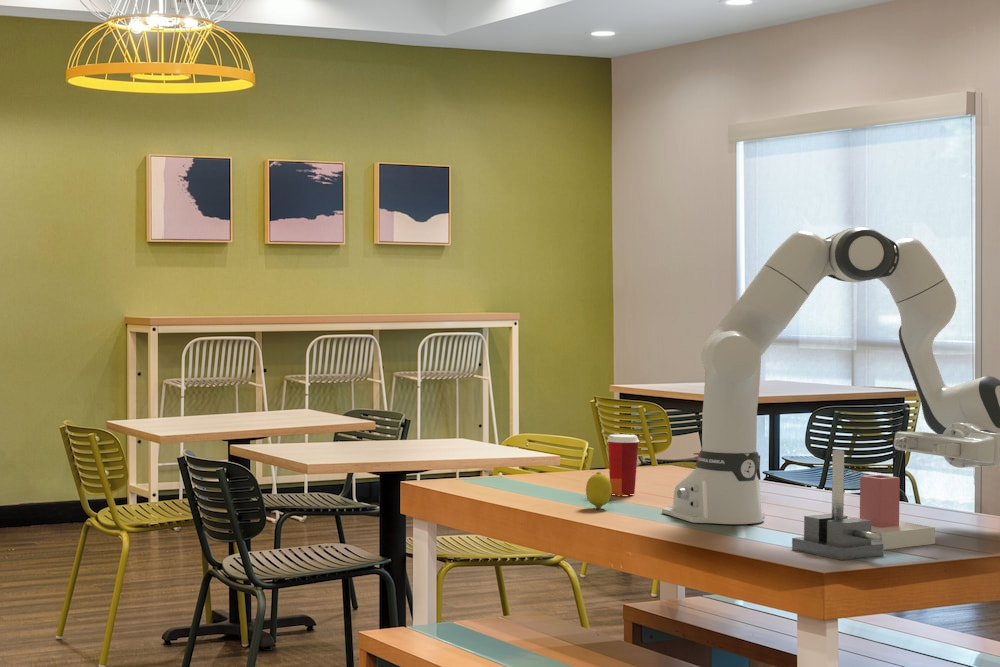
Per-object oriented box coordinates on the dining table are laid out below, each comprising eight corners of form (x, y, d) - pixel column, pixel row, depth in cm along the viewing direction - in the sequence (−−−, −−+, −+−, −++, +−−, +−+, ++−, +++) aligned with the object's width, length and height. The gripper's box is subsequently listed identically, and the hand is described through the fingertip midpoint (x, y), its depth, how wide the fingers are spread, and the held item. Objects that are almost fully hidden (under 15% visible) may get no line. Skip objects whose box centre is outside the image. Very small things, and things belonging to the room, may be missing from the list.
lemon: (601, 511, 263) (601, 474, 263) (580, 508, 267) (581, 471, 267) (616, 508, 267) (616, 472, 267) (596, 506, 271) (596, 469, 271)
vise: (792, 549, 220) (793, 448, 220) (832, 544, 226) (833, 446, 225) (858, 563, 207) (859, 457, 207) (899, 558, 212) (900, 454, 212)
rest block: (824, 537, 233) (824, 522, 233) (876, 532, 240) (876, 517, 240) (881, 549, 221) (881, 533, 221) (934, 543, 228) (935, 527, 228)
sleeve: (859, 523, 231) (860, 475, 231) (878, 521, 234) (879, 474, 234) (880, 527, 227) (880, 478, 227) (899, 525, 229) (899, 477, 229)
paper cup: (639, 493, 293) (640, 434, 293) (637, 497, 286) (638, 437, 286) (607, 492, 295) (607, 433, 295) (604, 496, 287) (604, 436, 287)
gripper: (922, 424, 253) (875, 424, 246) (1008, 434, 235) (959, 435, 228) (921, 455, 253) (873, 456, 246) (1007, 467, 235) (958, 469, 228)
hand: (915, 446), depth 237 cm, fingers open, 8 cm apart
